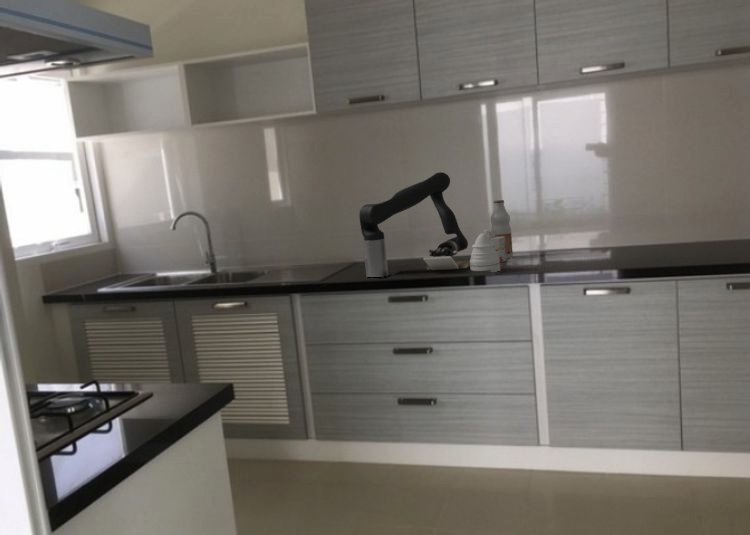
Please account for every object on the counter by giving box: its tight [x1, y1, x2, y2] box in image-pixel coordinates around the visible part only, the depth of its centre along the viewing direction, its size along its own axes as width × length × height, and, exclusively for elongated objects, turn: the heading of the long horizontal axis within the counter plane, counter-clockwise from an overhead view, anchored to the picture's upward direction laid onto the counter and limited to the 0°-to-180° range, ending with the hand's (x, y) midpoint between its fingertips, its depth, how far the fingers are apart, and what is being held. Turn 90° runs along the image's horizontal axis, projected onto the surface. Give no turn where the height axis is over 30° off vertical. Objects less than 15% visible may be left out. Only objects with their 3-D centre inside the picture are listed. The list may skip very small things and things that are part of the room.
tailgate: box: [423, 256, 460, 271], centre depth 284 cm, size 12×1×15 cm
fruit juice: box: [490, 199, 514, 260], centre depth 314 cm, size 9×9×28 cm
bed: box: [426, 260, 470, 271], centre depth 296 cm, size 18×11×3 cm, turn 69°
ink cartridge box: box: [488, 231, 507, 264], centre depth 304 cm, size 9×5×15 cm, turn 150°
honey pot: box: [469, 229, 501, 273], centre depth 281 cm, size 13×13×18 cm
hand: (437, 255), depth 278 cm, fingers closed
